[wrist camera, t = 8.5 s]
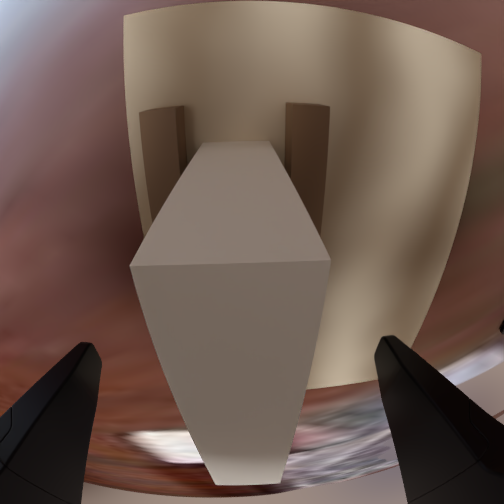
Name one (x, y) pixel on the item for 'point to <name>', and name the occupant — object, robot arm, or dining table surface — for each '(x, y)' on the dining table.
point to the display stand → (320, 143)
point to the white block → (235, 306)
